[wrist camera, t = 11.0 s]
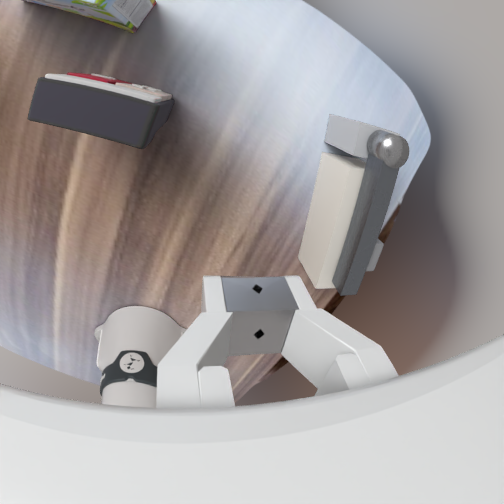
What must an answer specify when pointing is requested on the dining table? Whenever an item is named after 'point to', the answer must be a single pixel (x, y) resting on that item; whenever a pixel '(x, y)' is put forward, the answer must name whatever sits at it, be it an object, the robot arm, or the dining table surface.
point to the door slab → (332, 218)
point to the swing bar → (370, 208)
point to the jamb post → (350, 135)
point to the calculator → (101, 107)
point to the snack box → (106, 10)
